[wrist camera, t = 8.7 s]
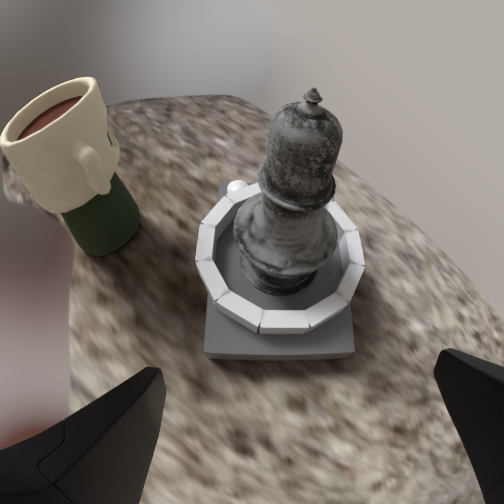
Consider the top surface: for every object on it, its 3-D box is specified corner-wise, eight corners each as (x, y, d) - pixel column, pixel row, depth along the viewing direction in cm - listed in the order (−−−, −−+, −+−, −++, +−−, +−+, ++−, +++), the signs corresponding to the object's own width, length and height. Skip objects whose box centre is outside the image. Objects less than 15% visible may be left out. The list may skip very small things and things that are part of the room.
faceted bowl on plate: (351, 357, 18) (375, 346, 14) (197, 357, 18) (185, 346, 14) (333, 207, 24) (345, 175, 21) (213, 202, 24) (209, 168, 21)
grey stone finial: (254, 313, 17) (270, 153, 6) (223, 236, 19) (208, 67, 9) (338, 281, 18) (427, 131, 8) (299, 213, 21) (335, 58, 10)
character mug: (178, 232, 23) (137, 87, 11) (117, 295, 20) (17, 176, 8) (108, 180, 26) (64, 71, 14) (57, 227, 23) (-11, 126, 11)
